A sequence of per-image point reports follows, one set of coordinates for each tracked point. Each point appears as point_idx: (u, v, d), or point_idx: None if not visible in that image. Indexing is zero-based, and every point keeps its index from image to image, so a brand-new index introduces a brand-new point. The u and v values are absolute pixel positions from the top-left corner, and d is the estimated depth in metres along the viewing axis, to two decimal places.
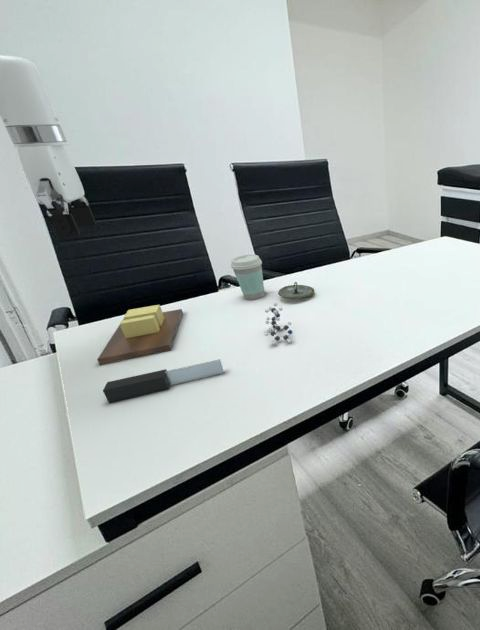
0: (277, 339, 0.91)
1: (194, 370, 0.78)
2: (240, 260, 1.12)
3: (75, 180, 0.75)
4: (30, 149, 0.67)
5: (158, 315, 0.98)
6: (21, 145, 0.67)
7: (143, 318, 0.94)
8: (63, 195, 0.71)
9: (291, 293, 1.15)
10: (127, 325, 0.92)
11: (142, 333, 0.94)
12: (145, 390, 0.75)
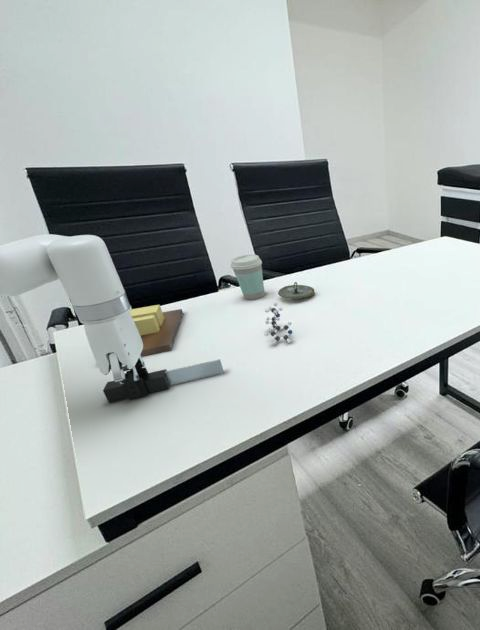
0: (277, 339, 0.91)
1: (194, 370, 0.78)
2: (240, 260, 1.12)
3: (136, 339, 0.73)
4: (97, 328, 0.65)
5: (158, 315, 0.98)
6: (88, 322, 0.65)
7: (143, 318, 0.94)
8: (128, 365, 0.68)
9: (291, 293, 1.15)
10: None
11: (142, 333, 0.94)
12: None
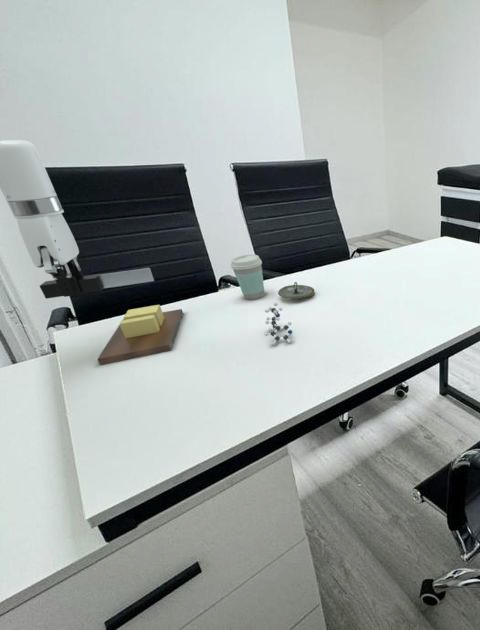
0: (277, 339, 0.91)
1: (125, 275, 0.87)
2: (240, 260, 1.12)
3: (70, 242, 0.82)
4: (28, 221, 0.74)
5: (158, 315, 0.98)
6: (21, 217, 0.74)
7: (143, 318, 0.94)
8: (58, 259, 0.78)
9: (291, 293, 1.15)
10: (127, 325, 0.92)
11: (142, 333, 0.94)
12: None
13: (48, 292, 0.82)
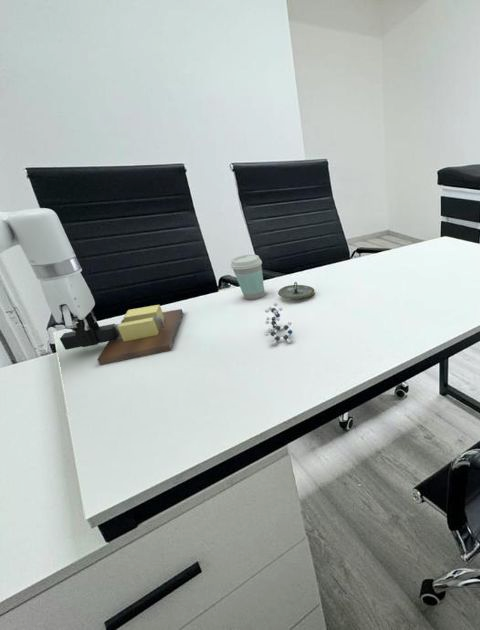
0: (277, 339, 0.91)
1: None
2: (240, 260, 1.12)
3: (87, 297, 0.88)
4: (51, 283, 0.80)
5: (158, 315, 0.98)
6: (43, 279, 0.80)
7: (141, 321, 0.92)
8: (78, 315, 0.84)
9: (291, 293, 1.15)
10: (126, 328, 0.91)
11: (141, 336, 0.93)
12: None
13: (67, 344, 0.88)
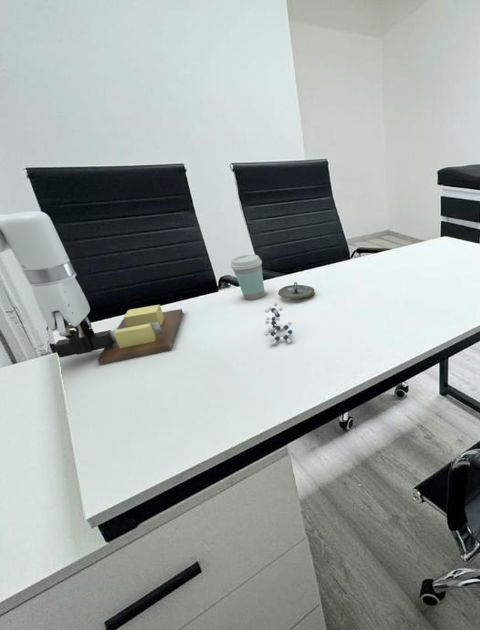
0: (277, 339, 0.91)
1: None
2: (240, 260, 1.12)
3: (82, 302, 0.85)
4: (43, 289, 0.77)
5: (158, 315, 0.98)
6: (36, 285, 0.77)
7: (138, 327, 0.89)
8: (71, 322, 0.81)
9: (291, 293, 1.15)
10: (122, 334, 0.88)
11: (137, 343, 0.90)
12: None
13: (61, 351, 0.85)
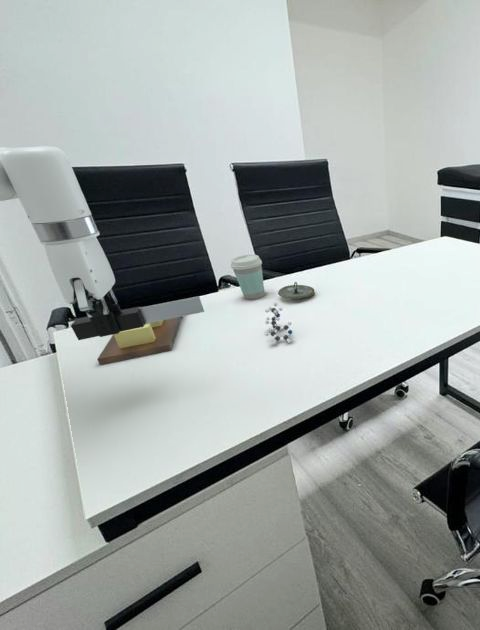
0: (277, 339, 0.91)
1: (171, 307, 0.72)
2: (240, 260, 1.12)
3: (106, 270, 0.67)
4: (59, 248, 0.59)
5: None
6: (49, 243, 0.59)
7: None
8: (95, 294, 0.63)
9: (291, 293, 1.15)
10: (122, 334, 0.88)
11: (137, 343, 0.90)
12: None
13: (81, 332, 0.67)
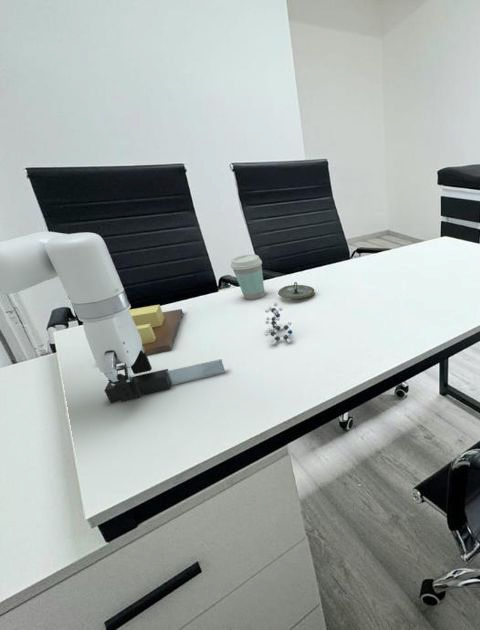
0: (277, 339, 0.91)
1: (195, 370, 0.78)
2: (240, 260, 1.12)
3: (135, 337, 0.73)
4: (96, 325, 0.65)
5: (158, 315, 0.98)
6: (87, 320, 0.65)
7: (138, 327, 0.89)
8: (126, 363, 0.68)
9: (291, 293, 1.15)
10: None
11: None
12: (146, 390, 0.75)
13: (113, 396, 0.73)
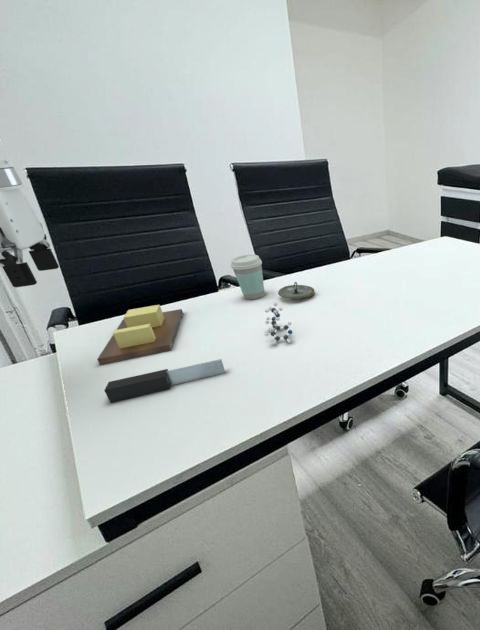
0: (277, 339, 0.91)
1: (195, 370, 0.78)
2: (240, 260, 1.12)
3: (32, 224, 0.70)
4: None
5: (158, 315, 0.98)
6: None
7: (138, 327, 0.89)
8: (16, 243, 0.65)
9: (291, 293, 1.15)
10: (122, 334, 0.88)
11: (137, 343, 0.90)
12: (146, 390, 0.75)
13: (113, 396, 0.73)
